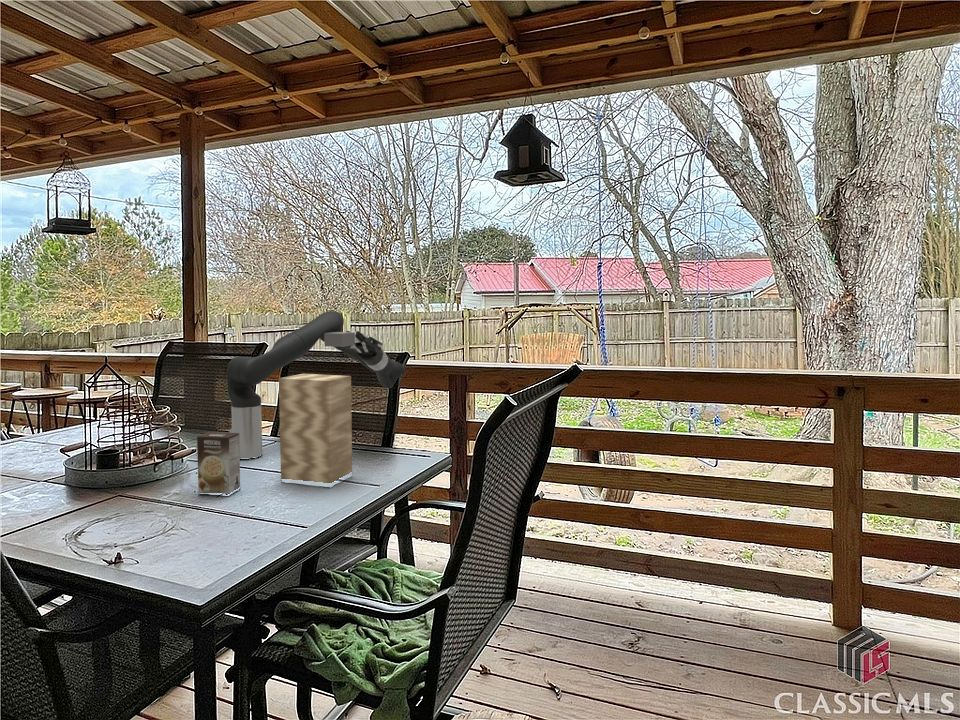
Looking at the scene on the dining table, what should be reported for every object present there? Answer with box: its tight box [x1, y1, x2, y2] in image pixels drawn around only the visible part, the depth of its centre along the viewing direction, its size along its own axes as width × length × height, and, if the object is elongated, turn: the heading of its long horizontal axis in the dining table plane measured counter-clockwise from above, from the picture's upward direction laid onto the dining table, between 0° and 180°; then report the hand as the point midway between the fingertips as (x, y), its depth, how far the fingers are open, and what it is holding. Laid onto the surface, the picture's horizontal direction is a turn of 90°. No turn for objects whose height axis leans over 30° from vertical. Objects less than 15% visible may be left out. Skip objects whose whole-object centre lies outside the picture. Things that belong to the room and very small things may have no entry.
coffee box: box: [196, 431, 241, 494], centre depth 163 cm, size 9×6×16 cm
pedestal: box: [278, 373, 353, 483], centre depth 175 cm, size 16×12×30 cm
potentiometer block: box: [323, 331, 367, 348], centre depth 194 cm, size 6×18×4 cm, turn 162°
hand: (351, 333), depth 196 cm, fingers closed on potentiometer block, 3 cm apart
